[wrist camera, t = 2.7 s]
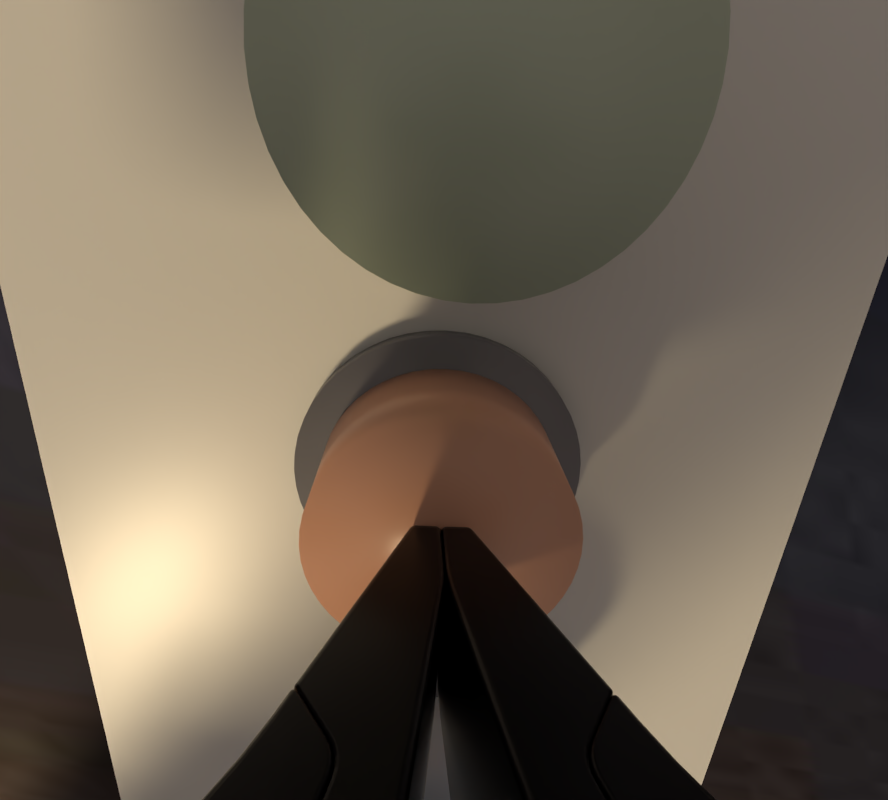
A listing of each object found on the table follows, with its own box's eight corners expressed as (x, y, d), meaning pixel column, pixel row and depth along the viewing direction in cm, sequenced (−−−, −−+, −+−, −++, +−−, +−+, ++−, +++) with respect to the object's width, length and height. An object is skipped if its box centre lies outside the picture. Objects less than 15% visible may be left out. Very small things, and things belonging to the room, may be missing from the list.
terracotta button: (538, 573, 11) (561, 658, 9) (324, 568, 11) (303, 653, 9) (569, 375, 9) (605, 427, 7) (320, 362, 9) (293, 415, 7)
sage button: (610, 277, 7) (672, 314, 6) (300, 258, 7) (258, 292, 5) (678, -111, 6) (792, -234, 4) (288, -147, 6) (222, -296, 4)
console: (630, 841, 18) (659, 936, 16) (178, 840, 17) (142, 940, 15) (894, -44, 9) (1040, -108, 7) (2, -125, 9) (-147, -226, 6)
